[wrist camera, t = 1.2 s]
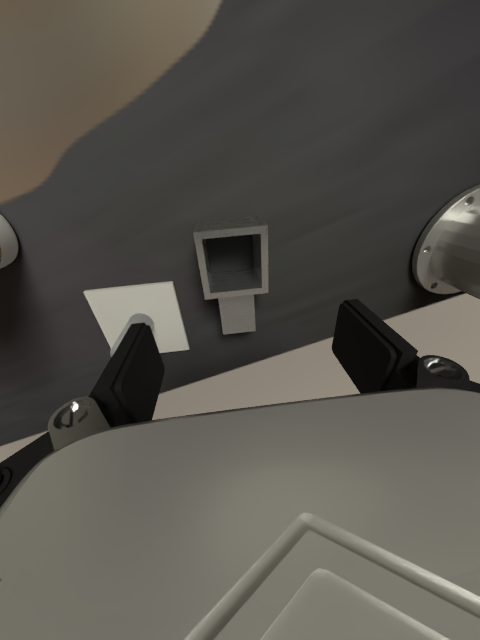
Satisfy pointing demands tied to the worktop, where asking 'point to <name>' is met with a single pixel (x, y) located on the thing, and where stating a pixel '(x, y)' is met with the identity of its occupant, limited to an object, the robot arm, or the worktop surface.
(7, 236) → the bath foam
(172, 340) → the duct stub
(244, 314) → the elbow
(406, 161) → the worktop surface
